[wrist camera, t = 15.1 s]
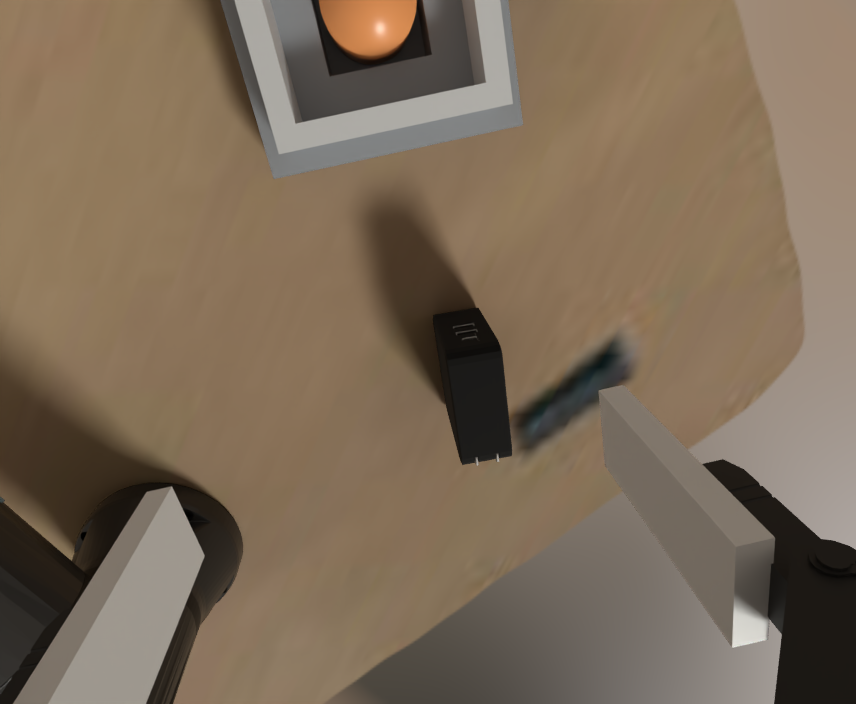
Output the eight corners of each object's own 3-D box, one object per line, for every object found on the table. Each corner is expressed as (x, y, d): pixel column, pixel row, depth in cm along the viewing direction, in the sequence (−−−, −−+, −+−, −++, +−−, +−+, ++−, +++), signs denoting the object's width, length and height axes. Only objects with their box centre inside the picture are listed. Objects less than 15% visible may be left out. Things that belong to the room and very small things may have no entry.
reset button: (338, 72, 39) (333, 64, 34) (315, -25, 37) (306, -48, 32) (418, 55, 39) (425, 44, 34) (401, -43, 37) (405, -69, 32)
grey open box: (284, 173, 42) (263, 184, 34) (203, -108, 35) (151, -181, 27) (506, 125, 43) (539, 124, 34) (469, -163, 36) (498, -253, 27)
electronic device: (477, 304, 48) (502, 345, 39) (489, 402, 52) (514, 460, 43) (431, 312, 48) (445, 355, 39) (446, 409, 52) (462, 469, 43)
